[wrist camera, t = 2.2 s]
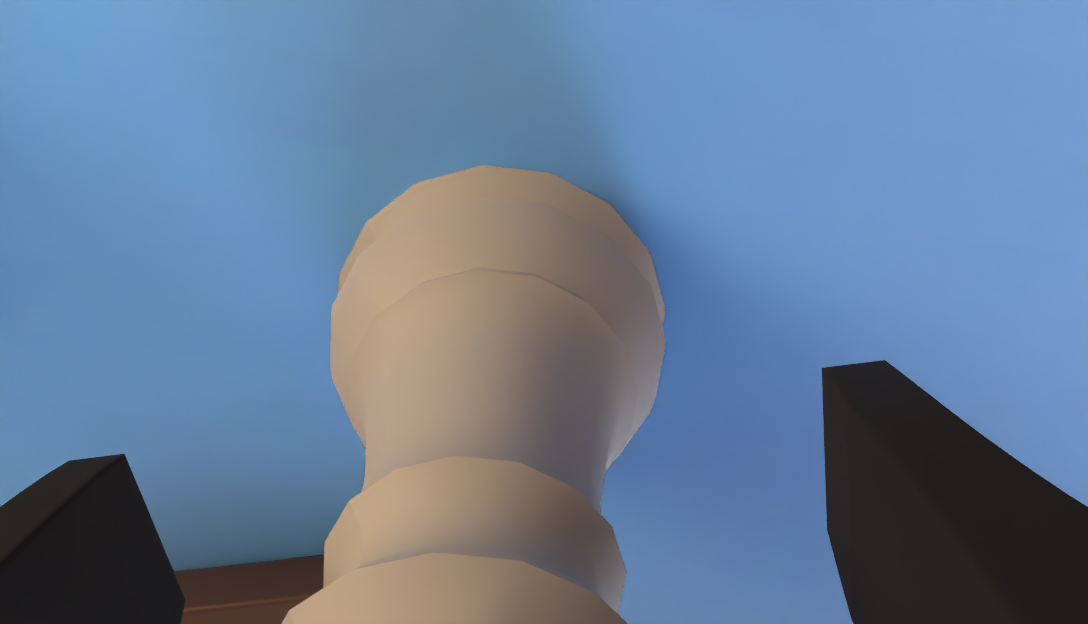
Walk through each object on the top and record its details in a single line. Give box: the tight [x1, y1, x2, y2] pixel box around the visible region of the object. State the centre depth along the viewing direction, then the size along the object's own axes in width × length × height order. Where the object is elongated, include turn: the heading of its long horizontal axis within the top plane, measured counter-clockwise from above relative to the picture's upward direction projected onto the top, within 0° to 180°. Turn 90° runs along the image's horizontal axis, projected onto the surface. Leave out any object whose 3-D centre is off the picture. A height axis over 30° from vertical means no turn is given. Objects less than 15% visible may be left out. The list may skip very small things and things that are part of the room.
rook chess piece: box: [282, 165, 666, 624], centre depth 11 cm, size 4×4×8 cm
